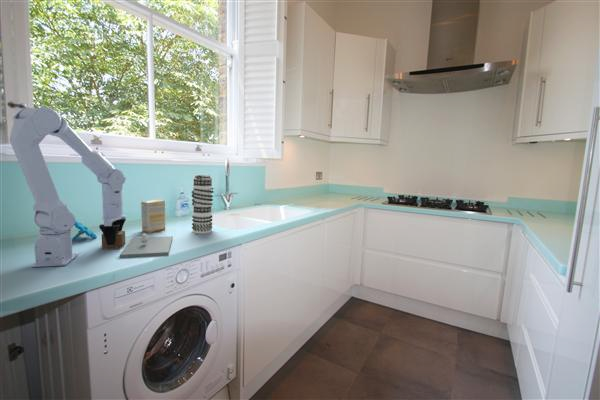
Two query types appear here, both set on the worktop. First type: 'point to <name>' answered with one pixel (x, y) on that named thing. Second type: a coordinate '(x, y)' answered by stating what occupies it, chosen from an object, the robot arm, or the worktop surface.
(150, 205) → the supplement box
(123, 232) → the collar
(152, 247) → the hub board
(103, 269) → the worktop surface
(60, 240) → the robot arm
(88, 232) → the gear
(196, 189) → the decorative candle
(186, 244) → the worktop surface
